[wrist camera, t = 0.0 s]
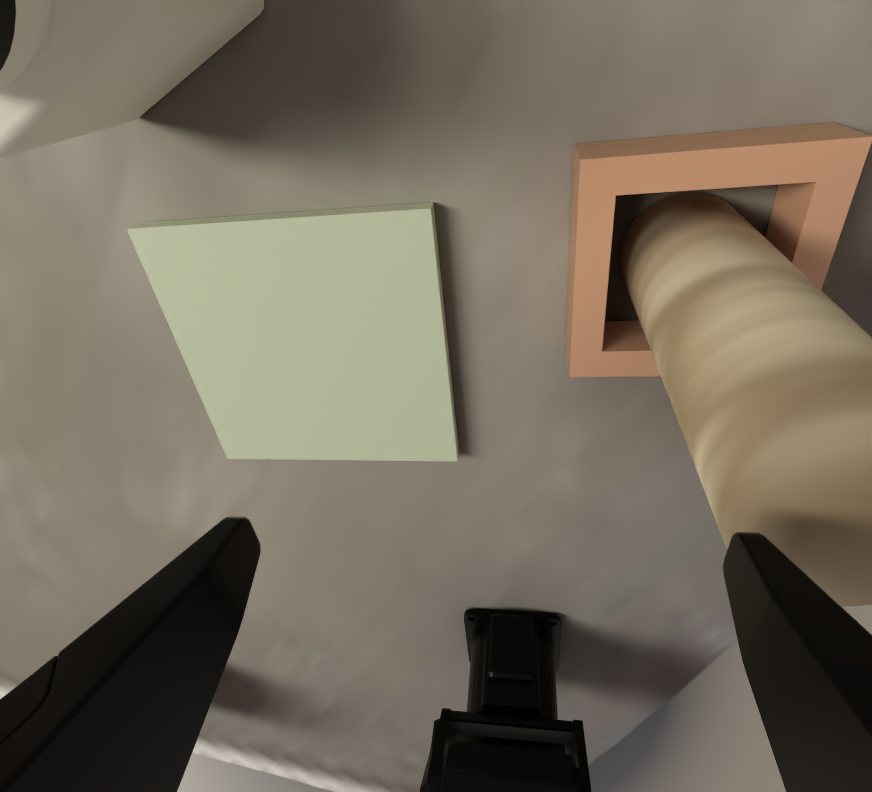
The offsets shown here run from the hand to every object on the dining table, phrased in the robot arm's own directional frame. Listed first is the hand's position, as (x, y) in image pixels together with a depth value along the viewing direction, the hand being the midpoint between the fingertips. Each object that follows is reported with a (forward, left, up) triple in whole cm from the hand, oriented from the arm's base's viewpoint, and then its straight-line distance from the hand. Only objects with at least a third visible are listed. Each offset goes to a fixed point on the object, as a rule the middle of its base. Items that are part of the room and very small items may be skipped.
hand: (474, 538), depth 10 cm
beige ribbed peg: (0, -7, -15) cm, 16 cm away
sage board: (-4, +9, -15) cm, 18 cm away
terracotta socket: (0, -7, -15) cm, 16 cm away
